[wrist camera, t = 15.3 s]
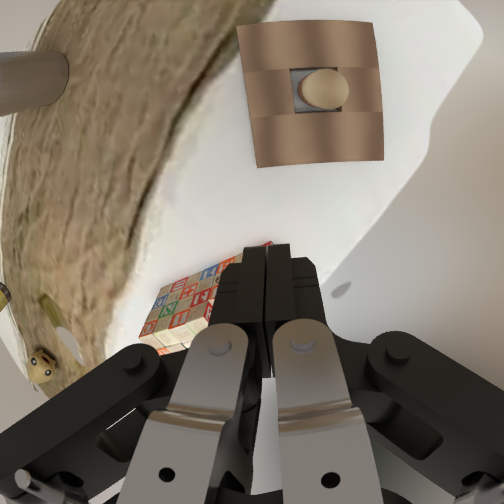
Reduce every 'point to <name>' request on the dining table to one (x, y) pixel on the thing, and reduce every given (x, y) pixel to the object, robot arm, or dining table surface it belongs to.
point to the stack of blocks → (183, 309)
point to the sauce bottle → (3, 297)
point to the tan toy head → (40, 367)
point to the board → (314, 122)
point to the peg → (324, 89)
